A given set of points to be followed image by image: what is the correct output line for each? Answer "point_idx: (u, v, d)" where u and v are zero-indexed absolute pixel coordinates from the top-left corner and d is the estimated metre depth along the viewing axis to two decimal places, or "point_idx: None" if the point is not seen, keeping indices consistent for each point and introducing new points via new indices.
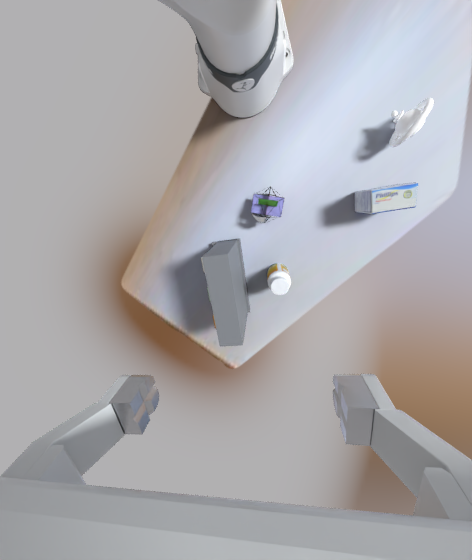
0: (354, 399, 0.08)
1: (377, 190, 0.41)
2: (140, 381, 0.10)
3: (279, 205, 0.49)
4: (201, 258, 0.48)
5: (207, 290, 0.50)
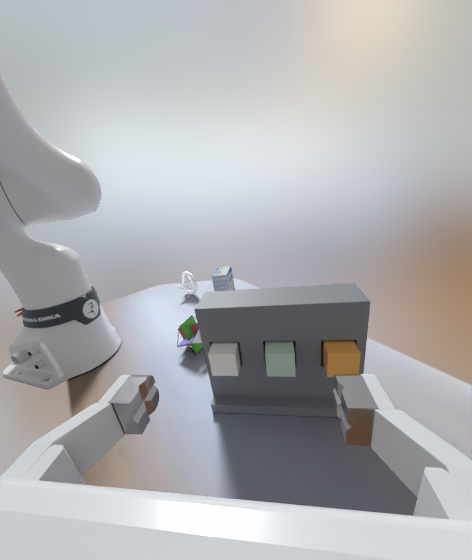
0: (354, 399, 0.08)
1: (213, 275, 0.62)
2: (140, 381, 0.10)
3: None
4: (209, 353, 0.28)
5: (269, 353, 0.26)
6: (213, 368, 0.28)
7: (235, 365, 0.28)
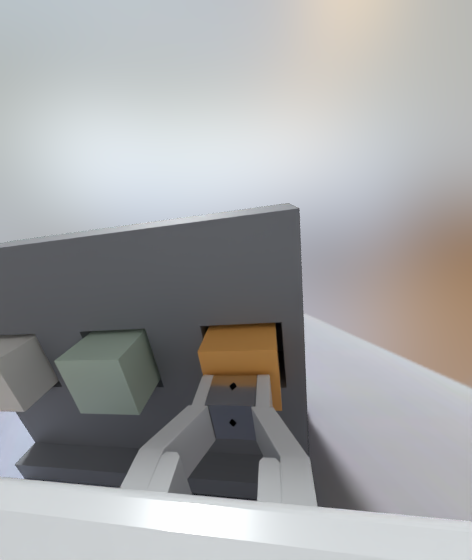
0: (239, 397, 0.08)
1: None
2: (229, 381, 0.09)
3: None
4: None
5: (64, 360, 0.10)
6: None
7: (7, 388, 0.12)
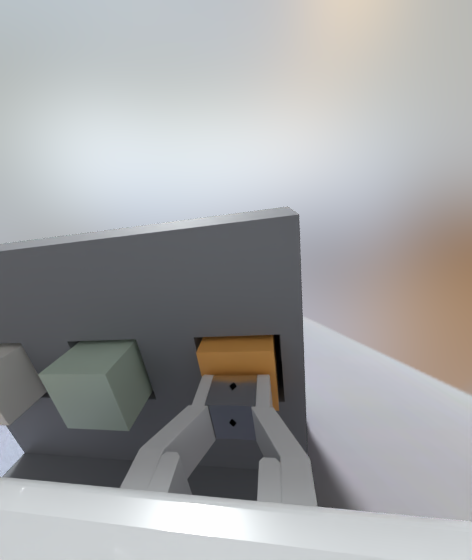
0: (239, 397, 0.08)
1: None
2: (229, 381, 0.09)
3: None
4: None
5: (49, 373, 0.10)
6: None
7: None
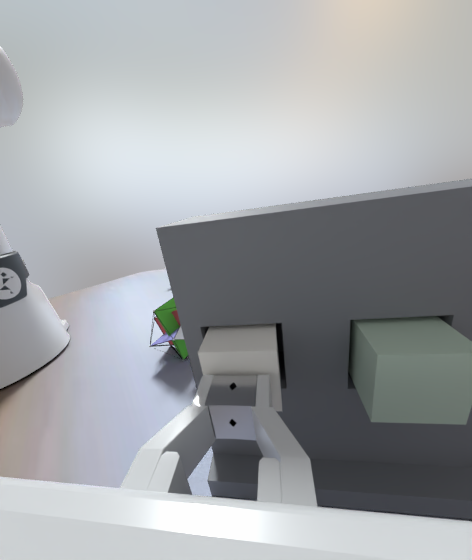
0: (239, 397, 0.08)
1: None
2: (229, 381, 0.09)
3: None
4: (202, 350, 0.10)
5: (394, 353, 0.08)
6: None
7: (276, 383, 0.10)
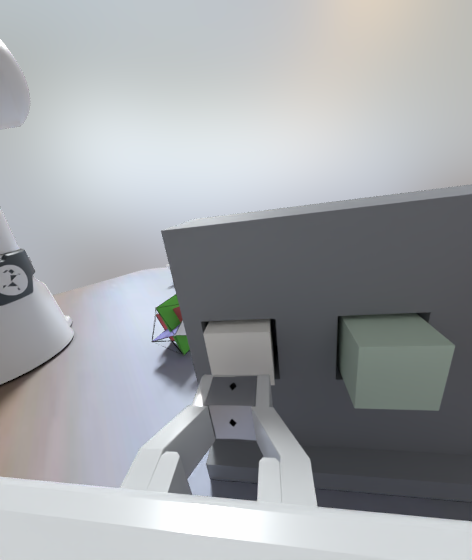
0: (239, 397, 0.08)
1: None
2: (229, 381, 0.09)
3: None
4: (207, 332, 0.12)
5: (374, 345, 0.09)
6: (216, 367, 0.12)
7: (269, 360, 0.12)
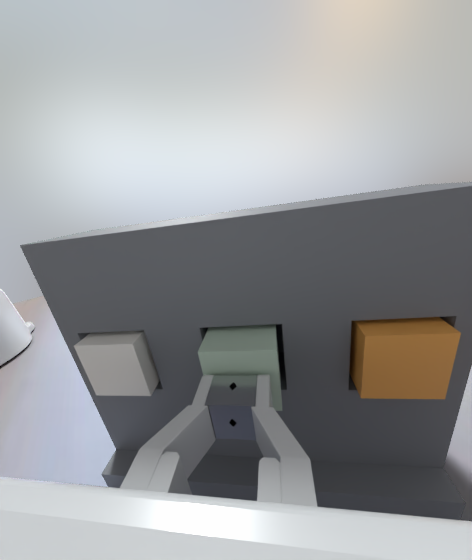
0: (239, 397, 0.08)
1: None
2: (228, 381, 0.09)
3: None
4: (78, 344, 0.12)
5: (210, 350, 0.10)
6: (94, 379, 0.12)
7: (139, 371, 0.12)
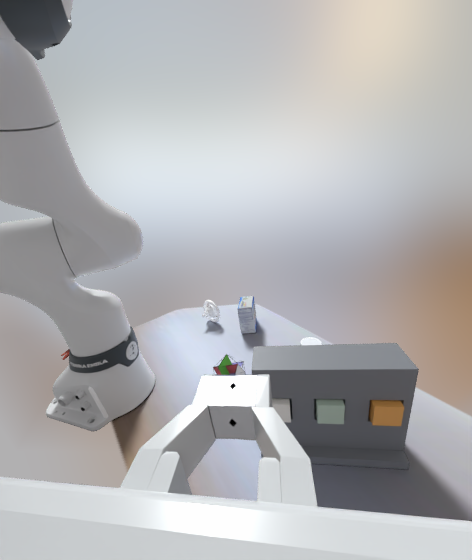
0: (239, 397, 0.08)
1: (238, 307, 0.64)
2: (228, 381, 0.09)
3: (233, 365, 0.50)
4: None
5: (321, 405, 0.30)
6: None
7: (289, 413, 0.31)
